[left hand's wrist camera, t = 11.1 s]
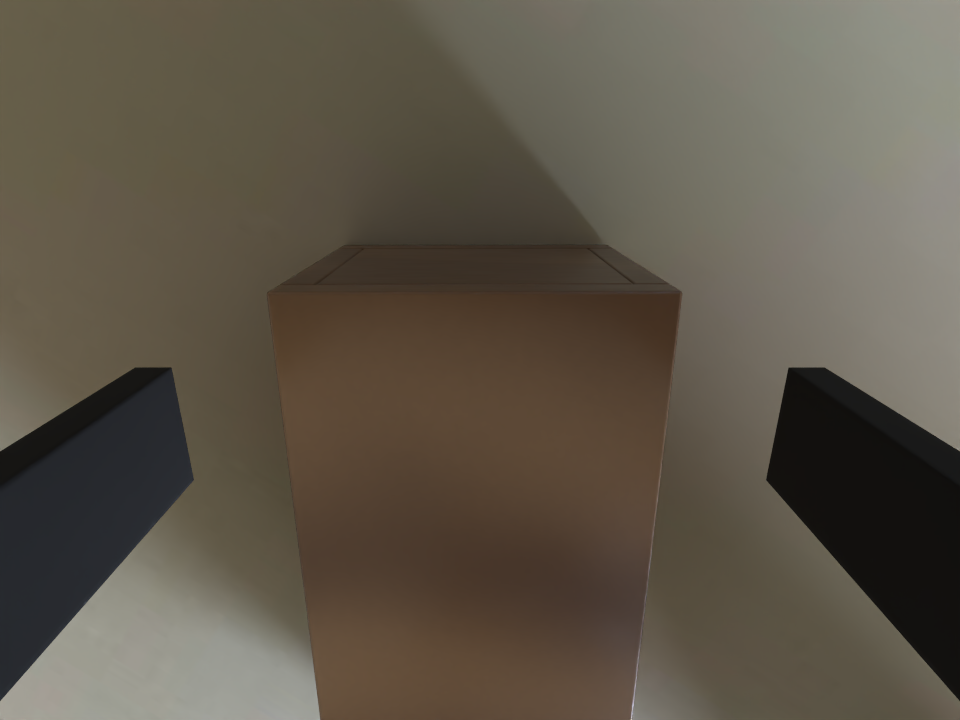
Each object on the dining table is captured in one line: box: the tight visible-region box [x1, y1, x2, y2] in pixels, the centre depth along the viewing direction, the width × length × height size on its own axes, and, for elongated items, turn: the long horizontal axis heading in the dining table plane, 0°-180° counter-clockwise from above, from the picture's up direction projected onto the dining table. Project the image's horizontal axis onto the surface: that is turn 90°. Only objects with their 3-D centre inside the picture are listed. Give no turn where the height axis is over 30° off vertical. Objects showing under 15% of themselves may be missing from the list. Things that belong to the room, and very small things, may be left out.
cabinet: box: [267, 245, 682, 720], centre depth 22 cm, size 18×11×9 cm, turn 0°
